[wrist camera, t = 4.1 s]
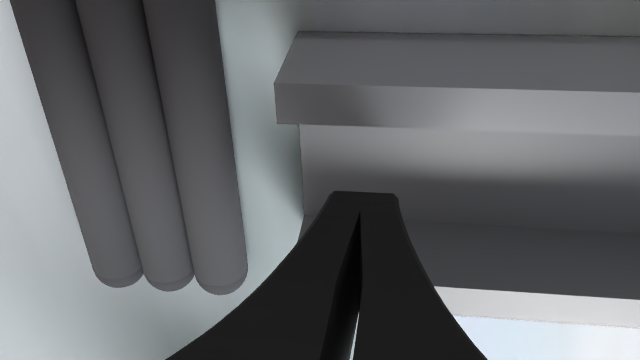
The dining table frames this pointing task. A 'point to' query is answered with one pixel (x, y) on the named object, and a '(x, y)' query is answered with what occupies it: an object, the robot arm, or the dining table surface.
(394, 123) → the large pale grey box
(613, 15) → the dining table surface
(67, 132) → the grey ridged block
